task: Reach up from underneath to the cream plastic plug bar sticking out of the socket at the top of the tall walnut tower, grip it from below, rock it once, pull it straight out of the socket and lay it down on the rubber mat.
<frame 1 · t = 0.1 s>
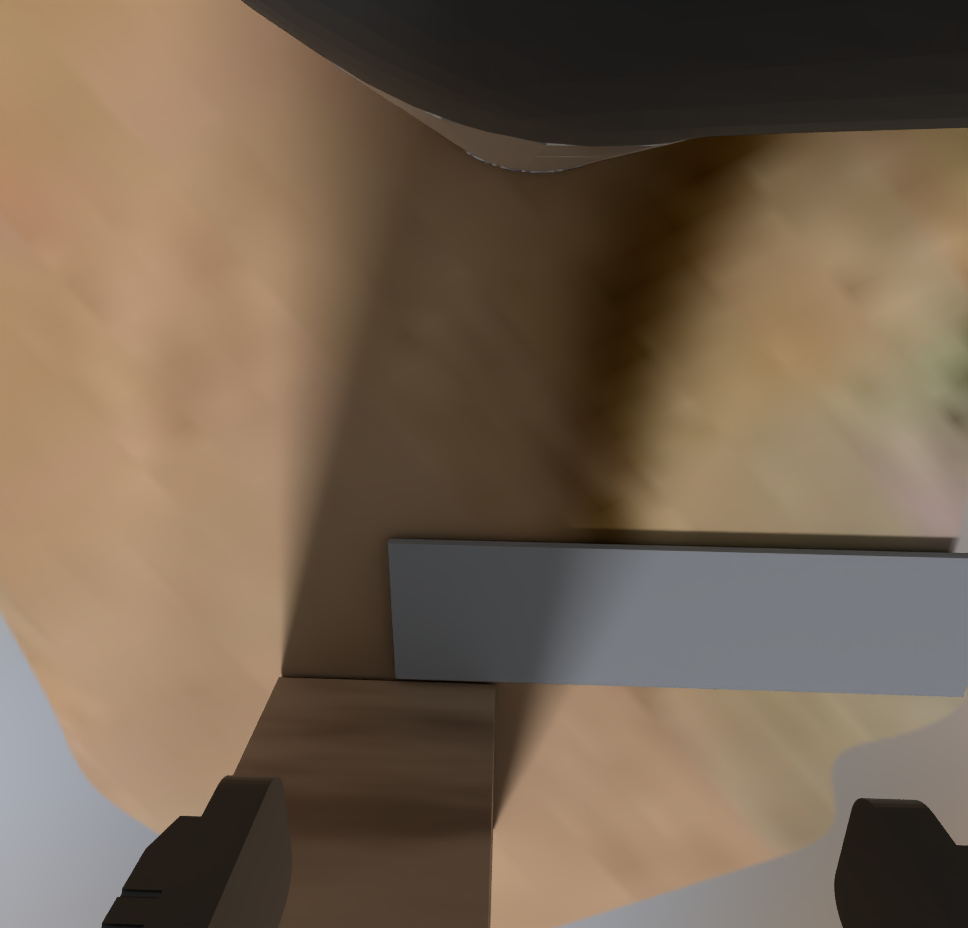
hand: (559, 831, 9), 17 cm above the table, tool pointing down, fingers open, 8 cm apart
mat: (683, 617, 28), on the table
socket tower: (391, 761, 32), on the table
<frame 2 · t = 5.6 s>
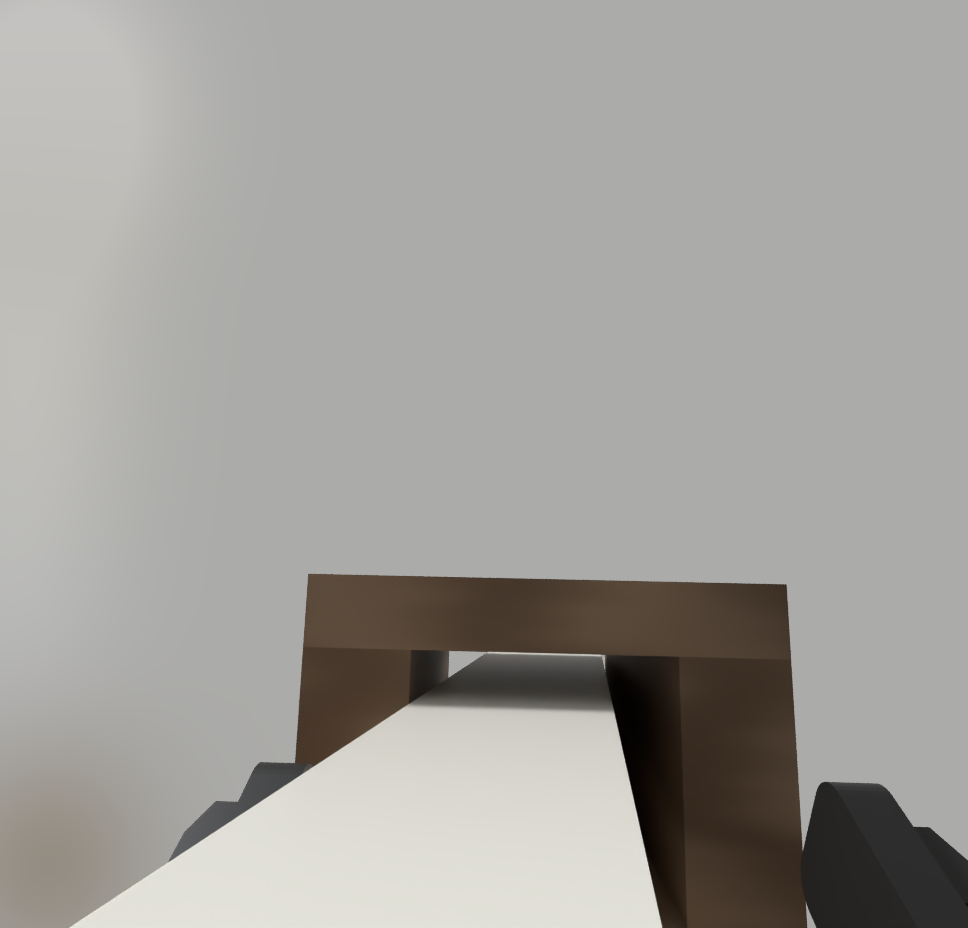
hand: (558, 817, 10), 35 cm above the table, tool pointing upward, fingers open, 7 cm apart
plug bar: (517, 889, 14), point 32 cm above the table, touching gripper, socket tower
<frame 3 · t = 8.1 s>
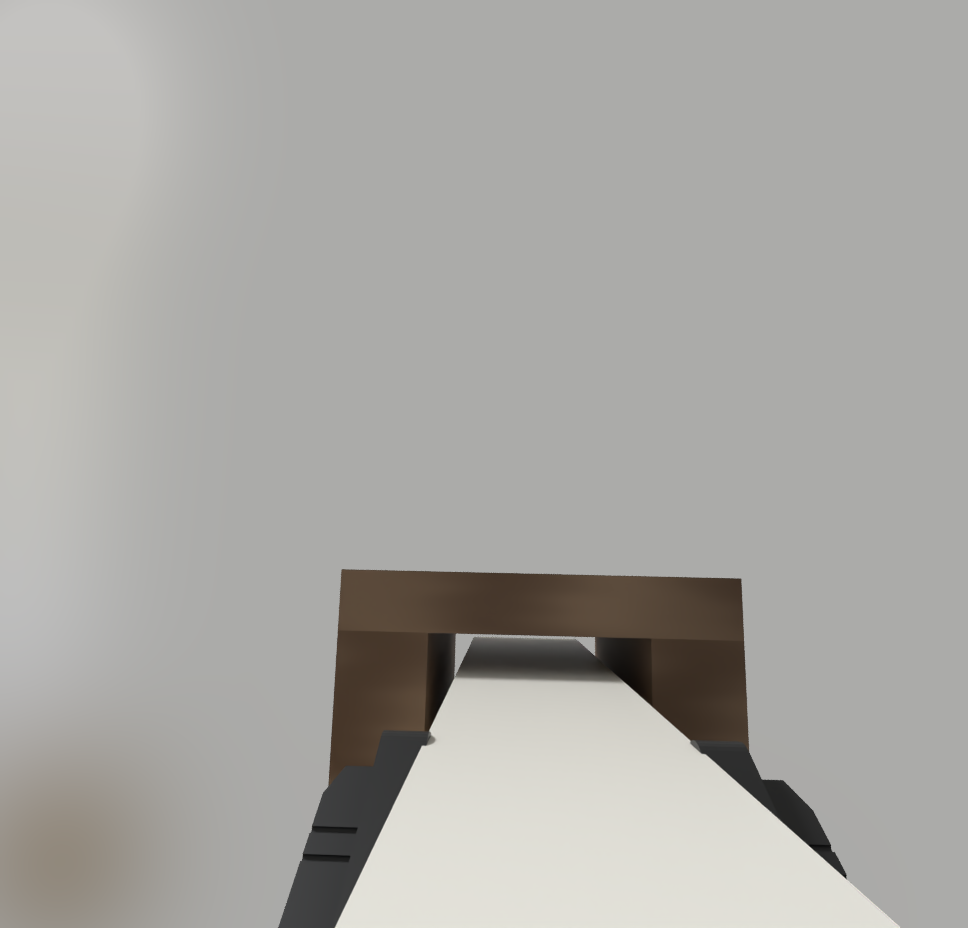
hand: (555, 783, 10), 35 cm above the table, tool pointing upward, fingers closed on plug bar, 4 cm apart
plug bar: (539, 875, 14), point 32 cm above the table, touching gripper
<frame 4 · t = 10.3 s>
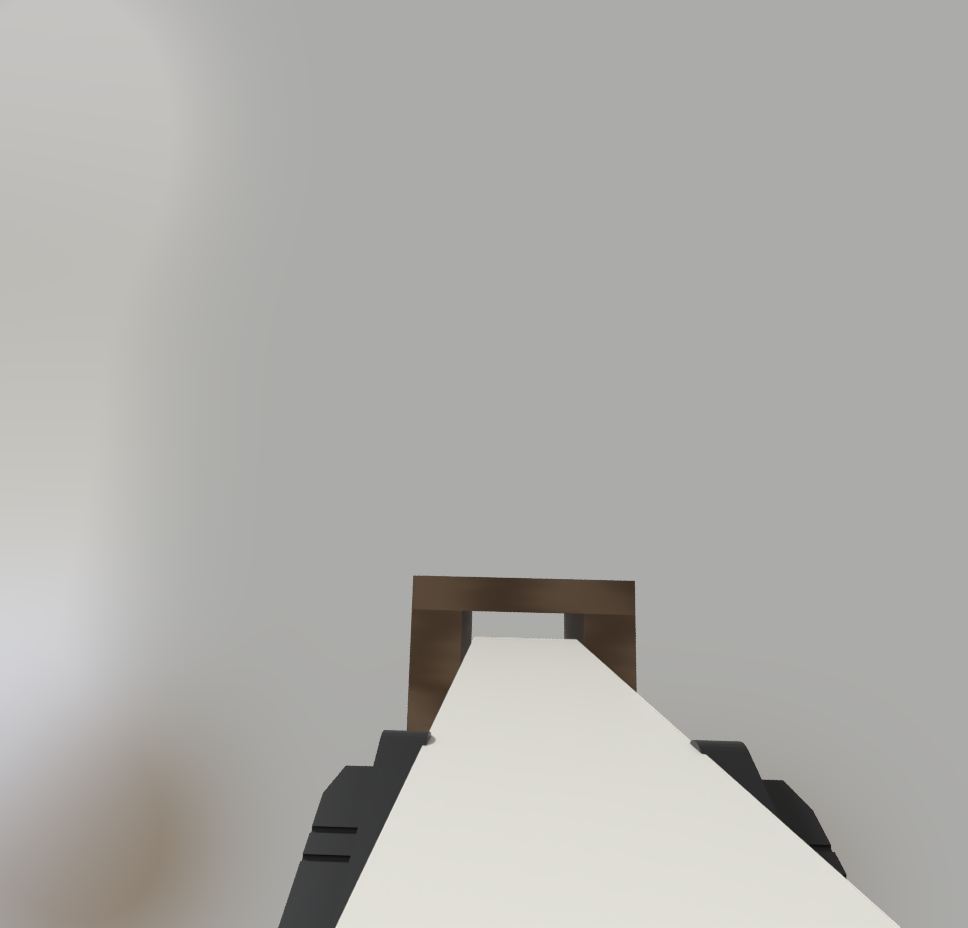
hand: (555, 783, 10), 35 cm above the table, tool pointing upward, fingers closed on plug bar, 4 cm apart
plug bar: (539, 875, 14), point 32 cm above the table, touching gripper
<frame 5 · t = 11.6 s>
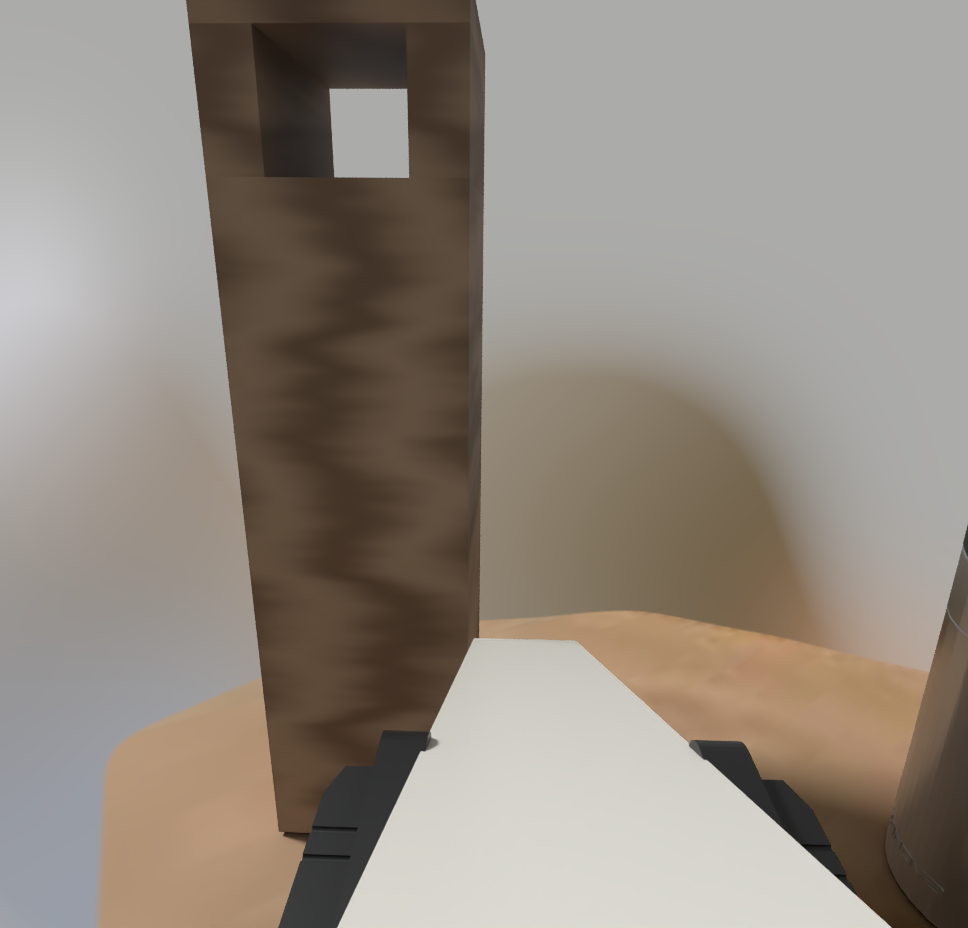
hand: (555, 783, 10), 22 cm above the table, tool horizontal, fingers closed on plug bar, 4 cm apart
plug bar: (538, 876, 14), point 17 cm above the table, tilted 28°, touching gripper
socket tower: (390, 765, 39), on the table
when the fingers open (7 cm above the table, at t = 14.7 s): plug bar drops 3 cm, resting on mat.
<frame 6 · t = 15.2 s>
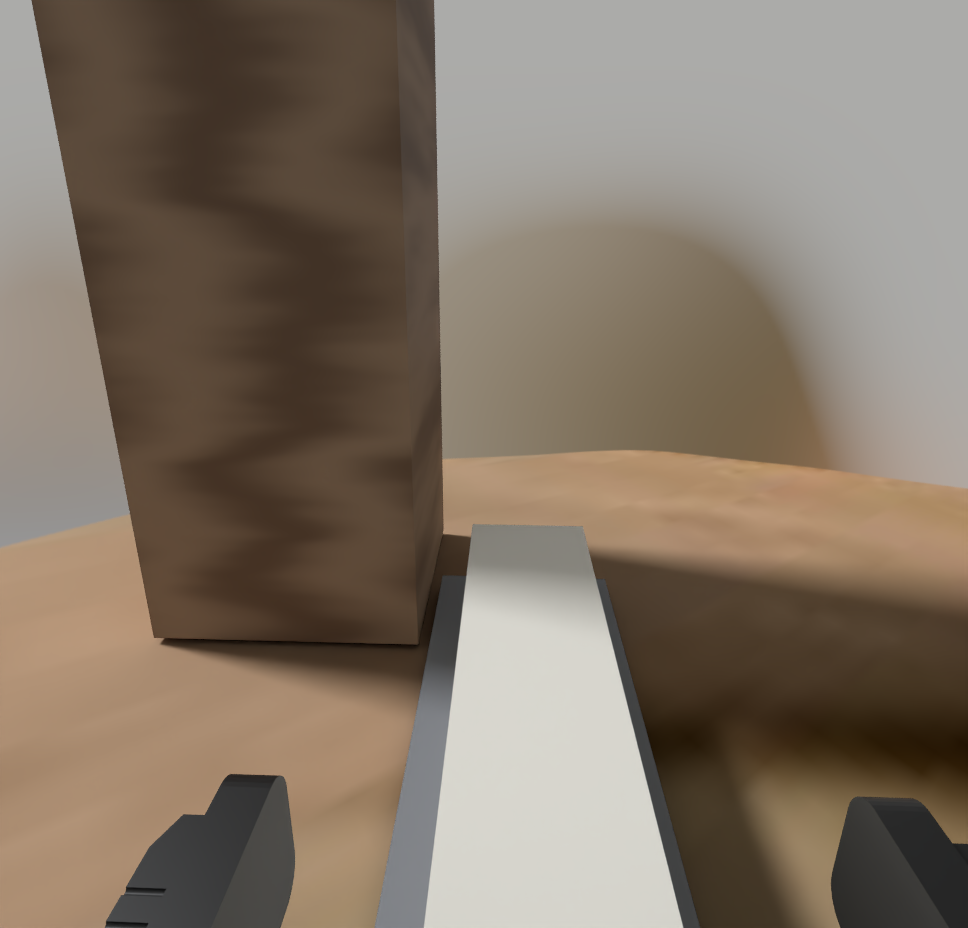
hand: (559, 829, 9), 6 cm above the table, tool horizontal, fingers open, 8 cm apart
mat: (532, 834, 17), on the table
plug bar: (536, 890, 15), resting on mat
socket tower: (321, 575, 29), on the table
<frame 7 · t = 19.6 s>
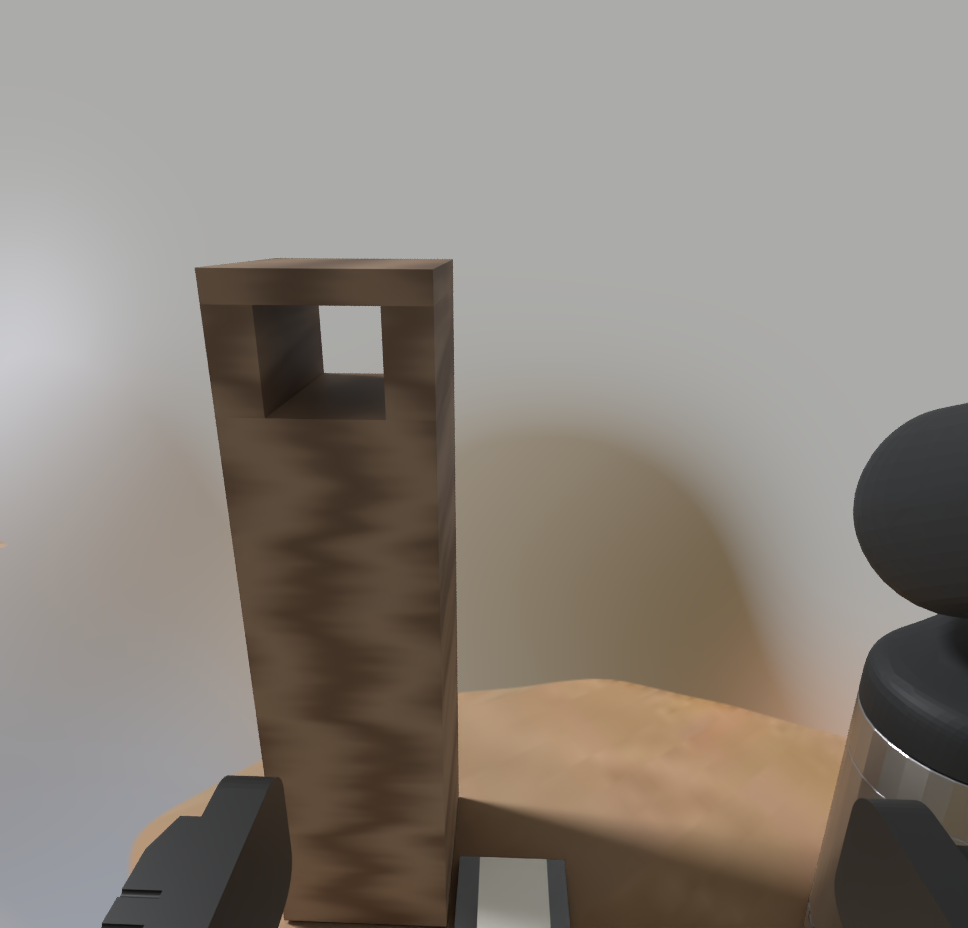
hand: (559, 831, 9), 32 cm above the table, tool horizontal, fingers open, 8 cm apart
socket tower: (380, 850, 45), on the table
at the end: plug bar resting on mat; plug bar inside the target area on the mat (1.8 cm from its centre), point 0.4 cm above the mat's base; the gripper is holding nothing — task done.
